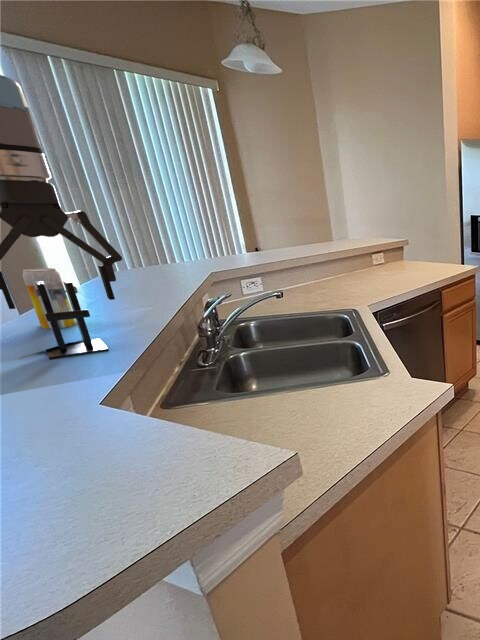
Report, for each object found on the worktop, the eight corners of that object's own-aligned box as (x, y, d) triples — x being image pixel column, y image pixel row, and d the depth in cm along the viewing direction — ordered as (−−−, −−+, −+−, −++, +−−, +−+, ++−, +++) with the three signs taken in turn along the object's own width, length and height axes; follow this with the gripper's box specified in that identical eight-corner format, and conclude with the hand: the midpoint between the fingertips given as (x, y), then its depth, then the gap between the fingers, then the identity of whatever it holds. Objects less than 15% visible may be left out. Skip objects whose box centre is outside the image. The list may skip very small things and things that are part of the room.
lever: (91, 320, 87) (88, 309, 86) (48, 325, 83) (44, 313, 81) (76, 291, 92) (73, 281, 91) (36, 294, 88) (32, 283, 87)
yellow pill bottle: (77, 328, 112) (57, 267, 107) (78, 332, 108) (57, 270, 103) (43, 331, 108) (21, 269, 103) (43, 336, 104) (20, 271, 99)
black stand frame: (110, 354, 93) (87, 283, 88) (50, 363, 87) (22, 287, 82) (101, 343, 100) (80, 277, 95) (45, 351, 94) (19, 280, 89)
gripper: (-99, 173, 65) (-38, 315, 73) (119, 183, 82) (150, 297, 90) (-94, 175, 70) (-36, 309, 77) (112, 185, 87) (142, 293, 95)
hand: (64, 303), depth 84 cm, fingers open, 13 cm apart
